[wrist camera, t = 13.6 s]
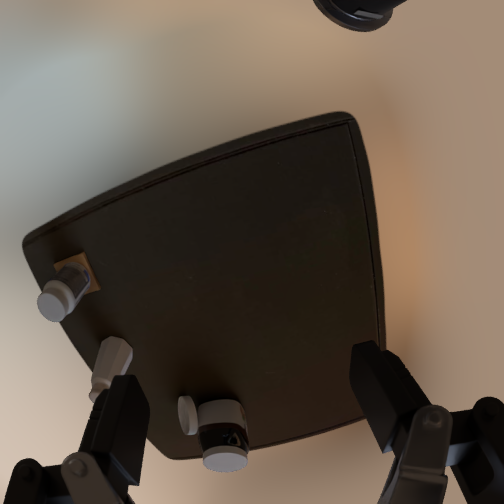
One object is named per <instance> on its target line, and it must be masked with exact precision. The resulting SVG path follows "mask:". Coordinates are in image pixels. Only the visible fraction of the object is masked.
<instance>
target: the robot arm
mask: <svg viewBox="0 0 504 504" xmlns="http://www.w3.org/2000/svg"><path fill="white" fill-rule="evenodd" d="M405 1H407V0H328V2H329V3H330V4H331V5H332V6H333V7H334V8H335V9H336V10H337V11H339V12H340V13H341V14H343V15H345V16H347V17H349V18H351V19H354V20H358V21H373V20H376V19H380V18H381V17H383V16H382V15H383V14H385V13H386V12H388V11H390V10H391V9H393V8H395V7H396V6H398V5H400V4H401V3H403V2H405ZM349 379H350V384H351V387H352V390H353V392H354V394H355V396H356V398H357V400H358V402H359V404H360V406H361V409H362V411H363V413H364V415H365V417H366V419H367V421H368V423H369V425H370V427H371V430H372V432H373V434H374V436H375V438H376V440H377V442H378V444H379V447H380V449H381V451H382V453H386V452H389V451H392V450H393V452H394V455H395V458H394V461H393V464H392V467H391V470H390V472H389V475H388V478H387V481H386V483H385V486H384V488H383V491H382V494H381V496H380V499H379V501H378V503H377V504H443V499H444V496H445V492H446V488H447V483H448V477H447V475H445V474H444V473H445V467H446V466H450V467H451V469H452V471H453V474H454V476H455V478H456V480H457V482H458V484H459V486H460V488H461V491H462V493H463V495H464V497H465V499H466V502H467V504H504V404H503V403H502V402H501V401H500V400H499V399H497V398H494V397H484V398H481V399H480V400H478V401H477V402H476V404H475V405H474V407H473V409H470V410H464V411H457V412H449V411H448V410H447V409H445V408H444V407H442V406H438V405H432V404H431V403H430V401H429V400H428V398H427V397H426V395H425V394H424V392H423V391H422V389H421V388H420V386H419V385H418V384H417V382H416V381H415V379H414V378H413V376H411V374H410V372H409V371H408V370H407V368H405V365H404V364H403V362H402V361H401V360H400V358H399V357H398V356H396V355H395V354H393V353H392V352H390V351H389V350H385V351H381V350H380V349H379V347H378V346H377V344H376V343H375V342H374V341H373V340H371V341H367V342H363V343H359V344H354V345H353V347H352V354H351V363H350V372H349ZM89 418H90V419H89V420H88V423H87V426H86V429H85V432H84V435H83V438H82V441H81V444H80V447H79V450H78V452H76V453H72V454H71V455H69V456H67V457H66V458H65V460H64V461H63V463H62V464H61V465H53V466H46V467H42V466H41V465H40V464H39V463H38V462H37V461H36V460H34V459H31V458H26V459H23V460H21V461H19V462H18V463H17V464H16V466H15V467H14V469H13V472H12V475H11V478H10V481H9V485H8V488H7V492H6V495H5V499H4V503H3V504H135V503H134V501H133V500H132V498H131V497H130V495H129V494H128V486H129V485H135V486H139V483H140V476H141V468H142V461H143V454H144V448H145V441H146V436H147V430H148V424H149V418H150V408H149V403H148V401H147V399H146V397H145V395H144V393H143V390H142V388H141V386H140V384H139V382H138V380H137V378H136V376H135V375H115V376H114V377H113V379H112V382H111V385H110V388H109V389H103V391H102V392H101V393H100V394H99V395H98V396H97V398H96V400H95V402H94V405H93V411H91V414H90V417H89Z"/></svg>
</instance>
